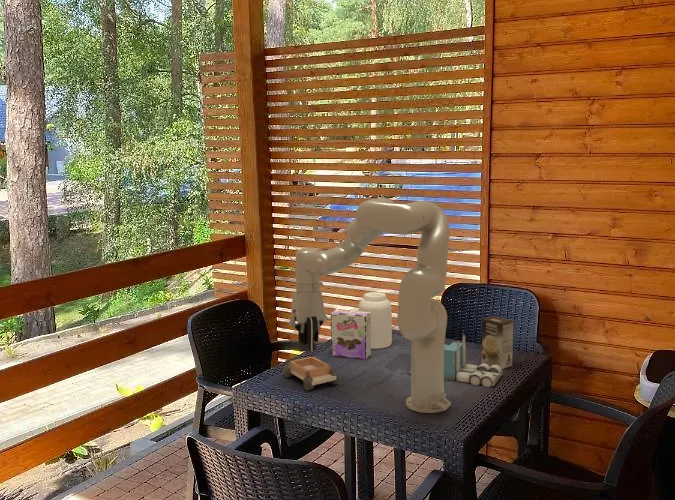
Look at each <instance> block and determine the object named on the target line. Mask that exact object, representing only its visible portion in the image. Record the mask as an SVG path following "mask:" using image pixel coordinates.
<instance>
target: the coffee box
mask: <svg viewBox="0 0 675 500" xmlns="http://www.w3.org/2000/svg"><path fill="white" fill-rule="evenodd" d="M481 325H482V326H481V364H483V363H486V364H488V365H489V366H490V367H491V366H492V365H498V366H500V368H501V370H504V369H507V368H509V367H512V366H513V355H514V353H513V350H514V349H513V348H514V346H513V345H514V326H515V325H514V320H511V319H508V318H504V317H500V316H498V315H497V316H496V315H492V316H487V317H484V318H482V324H481Z"/></svg>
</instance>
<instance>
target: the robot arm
mask: <svg viewBox="0 0 675 500" xmlns="http://www.w3.org/2000/svg"><path fill="white" fill-rule="evenodd" d="M345 228H346V229H345V234H346V235H347V236H346V237H345V239H343V240H342V241H341V242H340V243H339V244H338V245H337V246H335V247H333V248H329V249H325V250H321V251H319V250H317V248H316V249H315V248H309V247H308V248H307V247H305V248H299V249H297V250H296V252H295V291H293V294H292V301H291V312H290V314H291V315H290V319H289V322H288V325H289V326H291V327H293V328H294V329H295V330H296V331H297V332H298V343H299V342H300V343H301V344H303V345H304V344H306V333H305V332H304V328H305V323H307V318H308V317H314V316H315V317H316V318H317V320H318V331H317V332H315V335H314V343H318V342H319V338H320V335H319V334H320V333H319V331H320V330H321V326H322V325H323V324H324V323H325V322H326V321H327V320H328V316H327V315H326V313H325V304H324V298H323V297H324V296H323V293H322V290H321V287H323V285H324V284H323V281H320V277H323V276H324V277H325V276H326V277H327V276H328V275H331V274H334V273H335V274H336V273H337V272H341V271H344V270H346V268H348V267H349V266H350V265H352V264H353V263H354V262H355V261H356V260H358V259H359V258H360V256H361V255H362V254H363V253H364V252H365V250H366V248H367V247H368V246H369V244H371V243H372V242H374V240H376V238H377V237H379V236H380V235H381V234H382V233H385V234H392V235H398V236H400V235H401V236H404V235H405V236H409V235H412V234H416V233H421V235H420V236H421V237H420V240H419V242H418V247H417V258H416V264H415V267H414V268H411V269H409V270H407V271H406V272H405V273H404V275H403V276H402V278H401V280H400V284H399V289H398V303H397V318H396V319H397V321H396V323H397V327H398V328H397V329H398V331H399V333H400V334H401V335H402V336H403V337H404V338H405V339H406V340H408V341H411V349H410V351H411V352H410V367H411V368H410V370H411V375H410V377H411V378H410V380H411V381H410V386H411V387H410V389H411V390H410V396H409V397H408V398H406V400H405V406H406V407H407V408H408V409H409V410H410V411H414V412H416V413H422V414H438V413H441V412H445V411H447V410H448V409H449V408H450V406H451V404H452V402H451V401H449V399H448V398H447V393H445V380H444V345H445V344H446V341H445V340H446V332H447V325H448V314H447V313H448V312H447V311H446V307H445V306H444V305H443V303H441V302H440V301H439V300H436V299H434V297H436V296H439V295H440V294H441V293H443V291H444V290H445V288H446V285H447V273H448V271H447V270H448V260H449V259H448V257H449V255H448V254H449V244H450V243H449V242H450V235H451V234H450V222H449V219H448V217H447V214H446V213H445V212H444V211H443V210H442V208H441V207H439V205H437V204H436V203H433V202H431V201H427V200H418V201H413V202H408V203H395V202H394V201H393V200H391V199H389V198H386V197H379V198H372V199H367V200H365V201H363V202H362V203H360V205H359V206H357V209H356V211H355V218H354V219H353V220H352V221H351V222H349V223H348V224H347V226H346V227H345ZM432 298H433V299H432ZM296 322H297V323H296Z"/></svg>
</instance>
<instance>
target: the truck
mask: <svg viewBox="0 0 675 500" xmlns="http://www.w3.org/2000/svg"><path fill="white" fill-rule="evenodd" d="M463 332H464V329H463ZM466 348H467V346H466V335H465V334H463V335H462V342H460V340H457V341H455V339H454V341H452V342H451V343H450V344H449V345H448V344H447V343H445V344H444V381H451V382H453V381H457V382H461V383H468V384H471V385H474V386H479V385H482V387H488V388H491V387H495V385H496V383H497V382H498V381H499V380H500V379H501V377H502V376H503V372H504V371H503V370H504V369H501V368H500V366H498V365H492V366H490V365H488V364H486V363H481V364H480V365H477V364H469V363H466V361H467V360H466V359H467V357H466V356H467V355H466V354H467V353H466V351H467V349H466ZM407 375H408V376H411V369H410V370H409V371H408V372H407Z"/></svg>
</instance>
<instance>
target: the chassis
mask: <svg viewBox="0 0 675 500" xmlns="http://www.w3.org/2000/svg"><path fill="white" fill-rule="evenodd" d="M282 373H283V374H282V375H283V377H284V378H285V379H286V378H287V379H288V378H292V377H293V376H296V377H297V378H298V379H300V380H302V386H303V389H304V390H305V391H306V392H307V391H311V390H314V388H315V386H316V385H320V384H325V383H327V382H328V383H329V385H332V386H333V385H337V384H339V382H340V376H339V373H338V372H337V371H335V370H334V371H332V365H330V364H328V363H327V362H324V361H323V360H320V359H319V358H317V357H314V356H308V357H304V358H300V359H293V360H289V362H288V364H286V365H284V366H283V367H282Z"/></svg>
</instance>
